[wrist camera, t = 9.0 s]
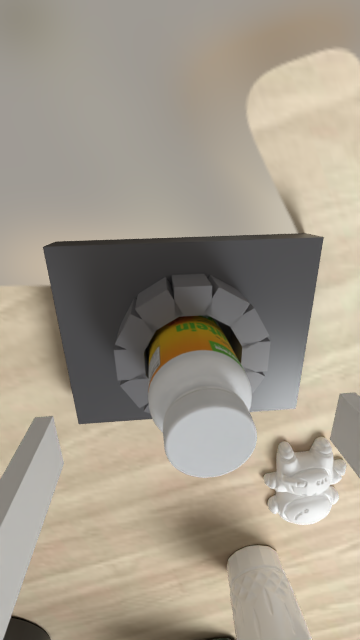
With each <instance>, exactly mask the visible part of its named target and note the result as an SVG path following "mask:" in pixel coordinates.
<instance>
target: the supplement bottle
mask: <svg viewBox="0 0 360 640" xmlns="http://www.w3.org/2000/svg"><path fill="white" fill-rule="evenodd" d="M251 401H252V392H251V386H250V382H249V379H248V377H247V375H246V373H245V371H244V369H243V367H242V366H241V364H240V362H239V360H238V358H237V357H236V355H235V353H234V351H233V349H232V347H231V346H230V344H229V342H228V340H227V338H226V336H225V335H224V333H223V331H222V329H221V327H220V326H219V324H218V323H217V321H216V320H215V319H214V318H212V317H210V316H208V315H200V316H180V317H178V318H176V319H174V320H173V321H171V322H169V323H168V324H166V325H164V326H163V327H161V328H159V329H158V330H156V331H155V333H154V335H153V337H152V338H151V340H150V342H149V382H148V402H149V409H150V414H151V416H152V419H153V421H154V423H155V424H156V426H157V427H158V428H159V429H160V430H161V431H162V432H163V436H164V447H165V452H166V455H167V458H168V459H169V461H170V462H171V464H172V465H173V466H174V467H175V468H176V469H178V470H179V471H181V472H183V473H185V474H187V475H190V476H195V477H203V478H207V477H216V476H221V475H224V474H227V473H229V472H231V471H233V470H235V469H237V468H238V467H240V466H241V465H242V464H243V463H244V462H246V461H247V459H248V458H249V457H250V456H251V454H252V452H253V451H254V448H255V445H256V441H257V432H256V427H255V425H254V422H253V420H252V417H251V415H250V412H249V410H250V407H251Z"/></svg>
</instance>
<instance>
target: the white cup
mask: <svg viewBox="0 0 360 640" xmlns="http://www.w3.org/2000/svg"><path fill="white" fill-rule="evenodd" d="M226 567H227V574H228V580H229V586H230V596H231V605H232V610H233V620H234V627H235V634H236V640H313V639H312V636H311V634H310V631H309V629H308V626H307V624H306V621H305V618H304V616H303V613H302V610H301V608H300V606H299V604H298V602H297V599H296V596H295V593H294V591H293V589H292V587H291V584H290V581H289V579H288V578H287V576H286V573H285V572H284V569H283V567H282V564H281V561H280V559H279V556H278V553H277V551H275V550H274V549H272V548H271V547H269V546H263V545H254V546H248V547H244V548H242V549H240V550H238V551H236V552H235V553H234V554H233V555H232V556H231V557H230V558H229V559H228V563H227V566H226Z"/></svg>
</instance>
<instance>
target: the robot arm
mask: <svg viewBox="0 0 360 640" xmlns="http://www.w3.org/2000/svg"><path fill="white" fill-rule="evenodd" d="M330 440H331V441H332V443H333V444H334V445H335V447H336V448H337V449H338V450H339V452H340V453H341V454H342V456H343V457H344V458H345V460H346V461H347V462H348V464H349V465H350V466H351V468H352V469H353V470H354V471H355V473H356V474H357V475H358V477H359V478H360V396H358V395H357V394H356V393H343V394H340V395H339V400H338V404H337V409H336V414H335V418H334V423H333V427H332V432H331V437H330ZM63 464H64V461H63V457H62V453H61V448H60V444H59V440H58V435H57V431H56V427H55V423H54V418H53V416H48V417H35V418H34V420H33V422H32V424H31V425H30V427H29V429H28V431H27V433H26V434H25V436H24V438H23V440H22V442H21V443H20V445H19V447H18V449H17V450H16V452H15V454H14V456H13V458H12V459H11V461H10V463H9V465H8V467H7V468H6V470H5V472H4V474H3V476H2V477H1V479H0V640H51V639H50V637H49V636H48V635H47V633H46V632H45V631H43V630H42V629H41V628H39V627H37V626H35V625H33V624H31V623H29V622H26V621H23V620H19V619H14V618H11V615H12V612H13V609H14V606H15V603H16V601H17V598H18V595H19V592H20V589H21V586H22V583H23V580H24V577H25V574H26V572H27V569H28V566H29V563H30V560H31V557H32V554H33V551H34V548H35V546H36V543H37V540H38V537H39V534H40V531H41V528H42V525H43V522H44V519H45V517H46V514H47V511H48V508H49V505H50V502H51V499H52V496H53V493H54V491H55V488H56V485H57V482H58V479H59V476H60V473H61V470H62V467H63Z"/></svg>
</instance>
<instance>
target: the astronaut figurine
mask: <svg viewBox="0 0 360 640" xmlns="http://www.w3.org/2000/svg"><path fill="white" fill-rule="evenodd" d="M276 467H277V468H276V472H271V473H266V474H265V475H264V478H263V479H264V483H265V484H266V485H267V486H268V487H269V488H271V489H274V490H275V491H277V492H276V495H275V496H271V497H270V498H269V499H268V502H267V505H268V508H269V510H270V511H271V512H272V513H274V514H276V513H278V514H279V515H280V517H282V518H283V519H284V520H286V521H288V522H291V523H295V524H301V525H307V524H313V523H316V522H318V521H320V520H321V519H323V518H325V517H326V516H327V515H328V513H329V511H330V509H331V507H332V504H335V503H336V502H337V501H338V499H339V495H338V492H337V490H336V489H335V488H334V487H333V486H330V485H331V484H335V483H337V482H339V481H340V480H341V479H342V477H341V475H344V474H345V471H346V470H345V468H346V463H345V461H343V460H342V459H337V460H333V452H332V448H331V446H330V443H329V441H328V440H327V439H326V438H324V437H318V438H316V439H315V441H314V443H313V444H312V446H311V448H310V450H309V451H304V452H294V451H293V449H292V447H291V446H290V444H289V443H288V442H286V441H283V442H281V443H280V444H279V446H278V451H277V455H276Z"/></svg>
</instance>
